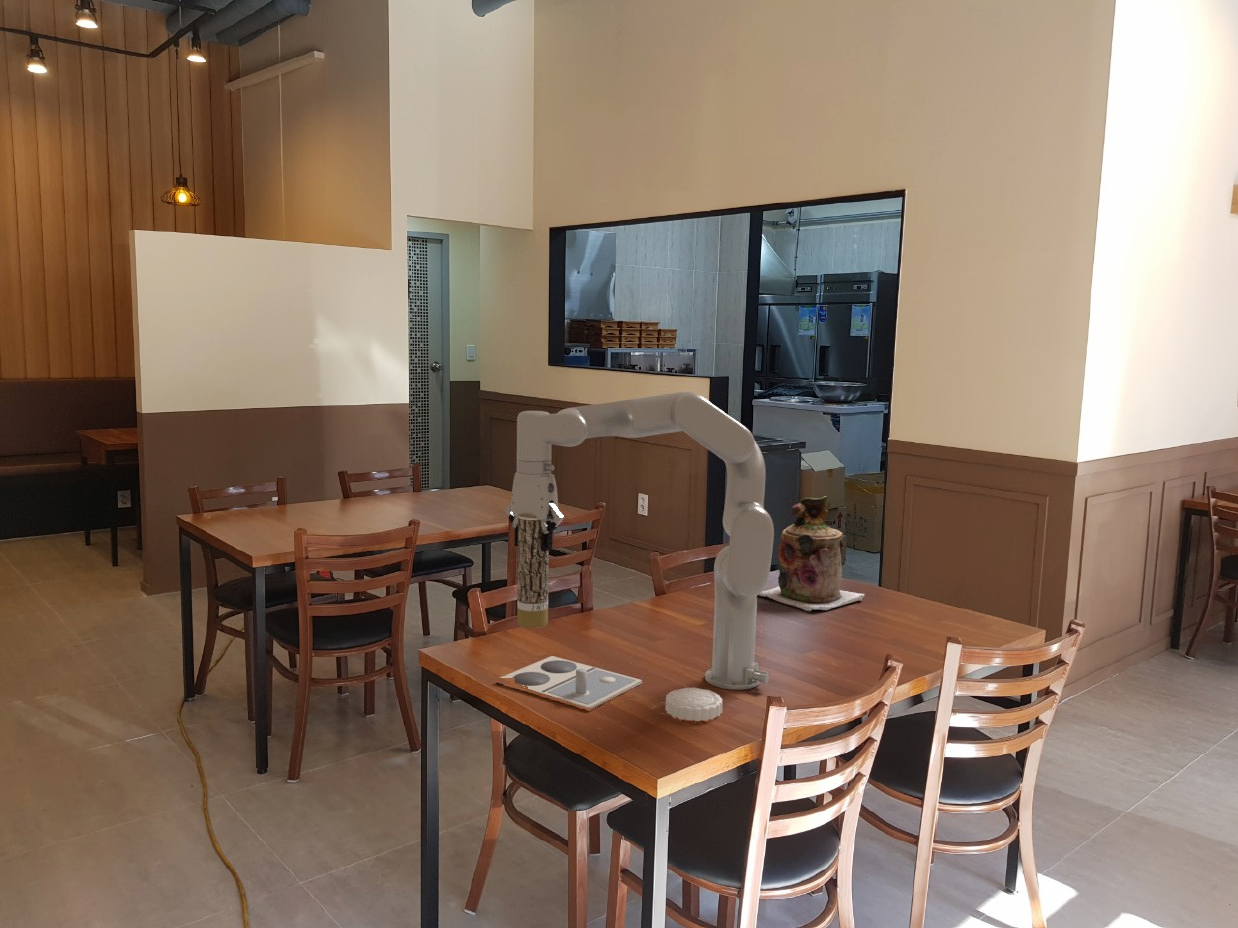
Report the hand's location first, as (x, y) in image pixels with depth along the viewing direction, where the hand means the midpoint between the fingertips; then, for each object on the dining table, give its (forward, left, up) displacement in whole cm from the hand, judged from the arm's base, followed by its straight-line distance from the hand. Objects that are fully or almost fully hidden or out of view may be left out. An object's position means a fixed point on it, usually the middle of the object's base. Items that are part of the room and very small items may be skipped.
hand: (533, 547), depth 212 cm
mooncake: (-37, -9, -32) cm, 50 cm away
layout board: (-7, -5, -31) cm, 32 cm away
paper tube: (0, 0, -18) cm, 18 cm away
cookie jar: (-20, -107, -32) cm, 113 cm away
